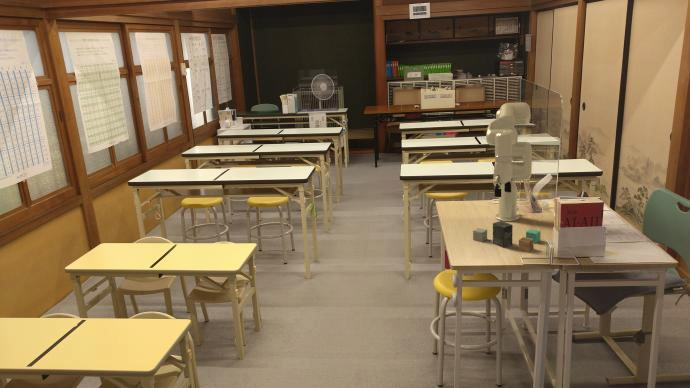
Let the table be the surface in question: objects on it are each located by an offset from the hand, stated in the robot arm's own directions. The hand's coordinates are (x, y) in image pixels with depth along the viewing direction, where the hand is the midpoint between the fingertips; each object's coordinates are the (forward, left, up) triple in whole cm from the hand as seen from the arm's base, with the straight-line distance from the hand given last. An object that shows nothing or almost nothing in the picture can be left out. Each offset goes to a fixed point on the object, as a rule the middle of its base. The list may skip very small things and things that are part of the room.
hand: (502, 194), depth 251 cm
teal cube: (-12, +10, -25) cm, 30 cm away
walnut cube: (0, +12, -25) cm, 28 cm away
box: (0, 0, -26) cm, 26 cm away
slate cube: (0, -12, -25) cm, 28 cm away
